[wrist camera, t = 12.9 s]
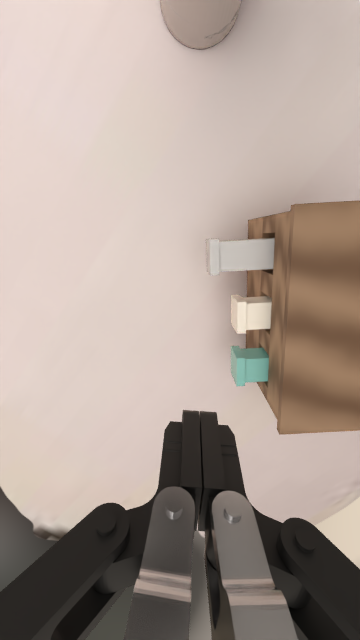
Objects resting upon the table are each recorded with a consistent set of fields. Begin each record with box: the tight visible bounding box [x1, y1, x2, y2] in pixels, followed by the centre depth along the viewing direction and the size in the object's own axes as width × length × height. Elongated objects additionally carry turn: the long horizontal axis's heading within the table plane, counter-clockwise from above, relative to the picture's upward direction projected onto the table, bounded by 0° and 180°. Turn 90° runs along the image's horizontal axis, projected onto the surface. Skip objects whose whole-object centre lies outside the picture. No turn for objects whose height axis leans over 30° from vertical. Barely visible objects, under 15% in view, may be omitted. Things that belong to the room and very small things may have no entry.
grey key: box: [206, 238, 275, 275], centre depth 31 cm, size 4×9×4 cm, turn 93°
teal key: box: [231, 346, 269, 386], centre depth 35 cm, size 4×9×4 cm, turn 93°
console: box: [246, 201, 360, 434], centre depth 34 cm, size 23×11×17 cm, turn 3°
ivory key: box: [231, 295, 272, 334], centre depth 33 cm, size 4×9×4 cm, turn 93°
